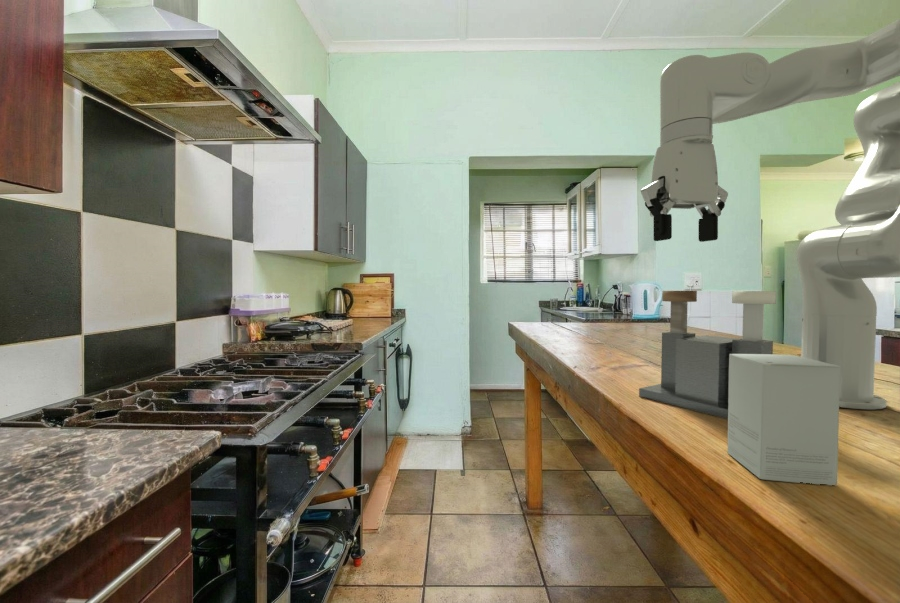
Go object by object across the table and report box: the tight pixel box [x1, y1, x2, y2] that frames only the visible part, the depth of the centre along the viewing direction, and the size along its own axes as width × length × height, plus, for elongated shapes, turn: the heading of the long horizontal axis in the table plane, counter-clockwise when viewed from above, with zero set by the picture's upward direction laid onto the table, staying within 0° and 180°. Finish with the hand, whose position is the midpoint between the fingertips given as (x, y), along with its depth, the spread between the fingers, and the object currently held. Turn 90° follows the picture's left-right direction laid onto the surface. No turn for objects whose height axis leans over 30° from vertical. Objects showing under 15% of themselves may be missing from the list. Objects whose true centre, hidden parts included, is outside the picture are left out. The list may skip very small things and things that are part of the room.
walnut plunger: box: [661, 290, 698, 334], centre depth 74 cm, size 6×6×12 cm
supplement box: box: [726, 354, 840, 486], centre depth 44 cm, size 7×7×13 cm
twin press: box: [638, 331, 774, 420], centre depth 69 cm, size 13×19×12 cm
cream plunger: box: [731, 290, 777, 342], centre depth 64 cm, size 6×6×12 cm
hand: (685, 240), depth 67 cm, fingers open, 9 cm apart
